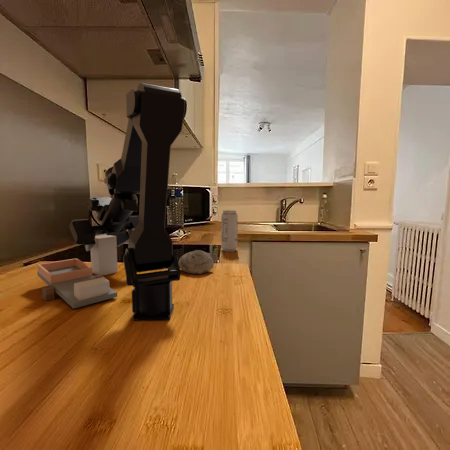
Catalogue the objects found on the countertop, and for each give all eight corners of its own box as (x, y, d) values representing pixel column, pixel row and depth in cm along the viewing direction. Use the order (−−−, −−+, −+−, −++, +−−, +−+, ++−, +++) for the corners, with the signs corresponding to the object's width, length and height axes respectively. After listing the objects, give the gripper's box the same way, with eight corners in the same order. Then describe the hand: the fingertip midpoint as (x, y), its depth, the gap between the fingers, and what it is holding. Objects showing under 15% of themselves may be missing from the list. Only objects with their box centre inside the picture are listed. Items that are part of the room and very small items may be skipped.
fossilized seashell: (169, 266, 84) (178, 242, 85) (187, 269, 94) (195, 248, 95) (202, 278, 80) (210, 253, 81) (217, 281, 89) (225, 258, 90)
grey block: (117, 272, 84) (116, 236, 82) (99, 276, 80) (98, 238, 79) (109, 268, 87) (107, 234, 86) (91, 272, 83) (89, 236, 82)
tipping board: (117, 296, 64) (117, 280, 63) (73, 308, 57) (73, 290, 56) (76, 268, 77) (76, 254, 77) (37, 275, 71) (37, 260, 70)
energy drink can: (239, 251, 112) (239, 211, 110) (223, 252, 111) (223, 211, 109) (234, 248, 118) (235, 210, 116) (219, 249, 117) (219, 210, 115)
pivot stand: (105, 286, 71) (105, 276, 71) (46, 301, 62) (45, 289, 62) (100, 284, 73) (100, 274, 73) (42, 298, 64) (41, 287, 63)
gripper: (140, 187, 85) (121, 223, 94) (70, 186, 71) (55, 228, 80) (157, 217, 81) (135, 251, 89) (85, 222, 67) (69, 262, 76)
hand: (101, 247), depth 84 cm, fingers open, 8 cm apart
